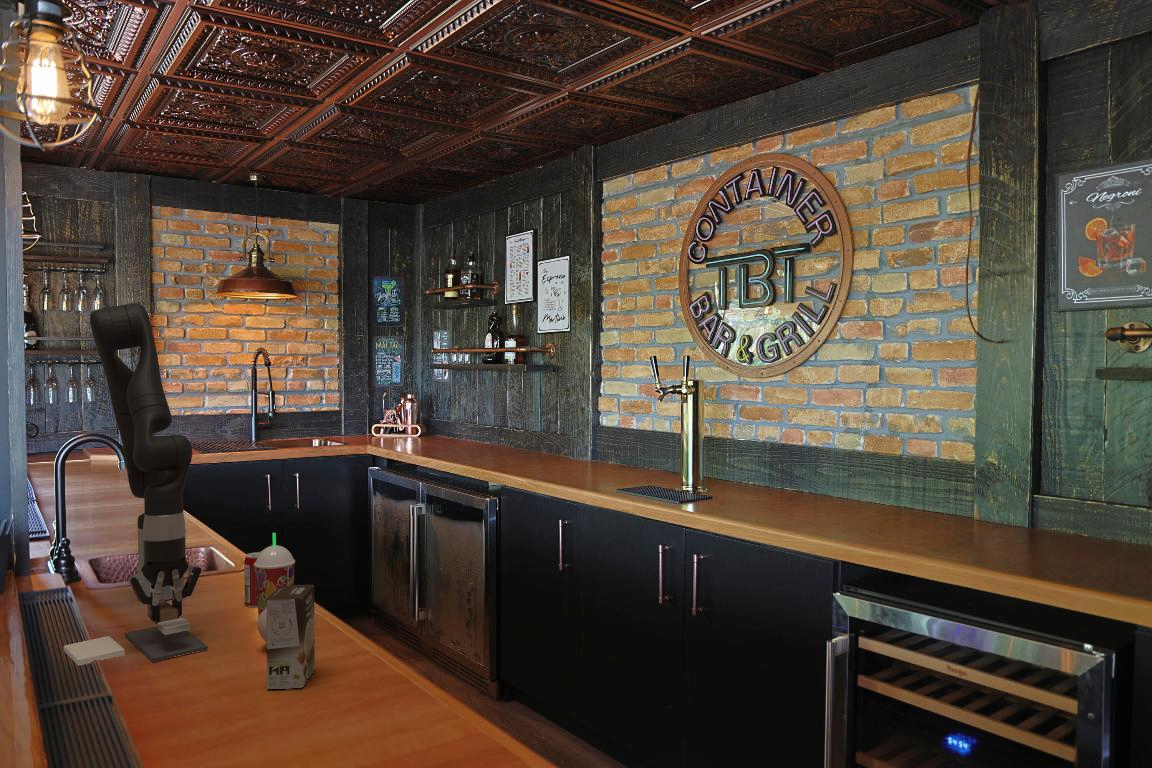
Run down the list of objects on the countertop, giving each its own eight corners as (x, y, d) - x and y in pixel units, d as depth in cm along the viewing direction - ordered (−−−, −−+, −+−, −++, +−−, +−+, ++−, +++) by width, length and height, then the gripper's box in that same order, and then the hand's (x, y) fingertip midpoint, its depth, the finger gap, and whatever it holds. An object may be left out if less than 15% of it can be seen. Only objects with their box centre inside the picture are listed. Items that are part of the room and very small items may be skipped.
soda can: (275, 602, 196) (274, 552, 196) (257, 609, 191) (256, 557, 191) (257, 599, 199) (256, 549, 198) (239, 606, 194) (238, 554, 193)
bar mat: (176, 626, 179) (176, 622, 179) (207, 650, 165) (207, 646, 165) (125, 636, 173) (125, 632, 173) (153, 662, 158) (153, 658, 158)
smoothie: (304, 621, 182) (302, 530, 182) (278, 633, 174) (277, 538, 174) (272, 617, 185) (271, 528, 184) (246, 629, 177) (244, 535, 176)
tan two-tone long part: (143, 617, 171) (143, 602, 171) (167, 612, 174) (167, 598, 174) (165, 634, 160) (164, 619, 160) (190, 629, 163) (190, 614, 163)
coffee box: (304, 689, 145) (302, 598, 144) (266, 691, 144) (264, 599, 144) (316, 670, 154) (314, 583, 154) (280, 671, 154) (279, 584, 153)
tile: (108, 636, 170) (124, 649, 162) (108, 643, 170) (124, 657, 162) (63, 645, 165) (77, 660, 157) (63, 653, 165) (78, 668, 157)
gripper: (195, 527, 174) (196, 609, 175) (120, 537, 165) (122, 624, 165) (207, 533, 169) (208, 618, 169) (130, 543, 159) (132, 633, 160)
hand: (166, 620), depth 167 cm, fingers closed on tan two-tone long part, 3 cm apart
